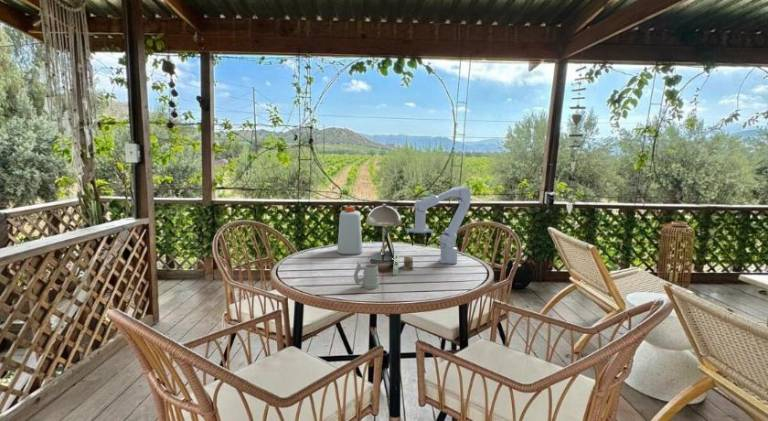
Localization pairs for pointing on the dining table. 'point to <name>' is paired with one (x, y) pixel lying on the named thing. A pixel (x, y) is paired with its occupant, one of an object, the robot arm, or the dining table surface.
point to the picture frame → (388, 243)
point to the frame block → (408, 263)
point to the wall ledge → (395, 264)
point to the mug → (367, 276)
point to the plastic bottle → (349, 232)
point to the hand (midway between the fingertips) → (419, 245)
